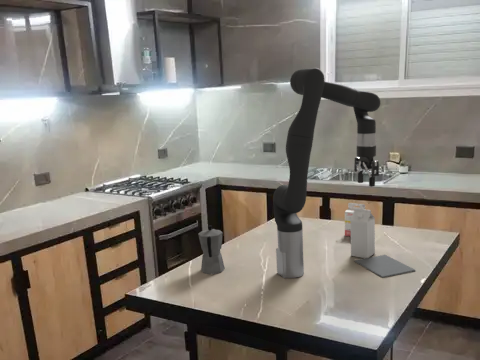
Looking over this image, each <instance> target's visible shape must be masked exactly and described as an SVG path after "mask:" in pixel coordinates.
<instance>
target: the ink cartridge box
mask: <svg viewBox="0 0 480 360" xmlns="http://www.w3.org/2000/svg"><path fill="white" fill-rule="evenodd" d="M347 206H348V209H346V210H345V211H344V236H345V237H351V217H352V215H353V213H354V208H356V209H365V210H366V204H364V203H355V202H348V203H347Z"/></svg>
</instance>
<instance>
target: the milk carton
mask: <svg viewBox="0 0 480 360" xmlns="http://www.w3.org/2000/svg"><path fill="white" fill-rule="evenodd" d="M375 221H376V218H375V216H374V214H372V210H371V209H366V208H365V209H356V208H354V213H353V215H352V217H351V236H350V256H351V257H352V256H353V257H357V258H360V259H364V258H370V257H373V255H375V253H376V245H375V243H376V241H375V240H376V238H375V236H376V233H375V232H376V230H375V229H376V227H375V226H376V223H375Z"/></svg>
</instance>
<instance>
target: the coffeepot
mask: <svg viewBox="0 0 480 360" xmlns="http://www.w3.org/2000/svg"><path fill="white" fill-rule="evenodd" d="M207 228H208V229H206V230H202V231H200V232H199V233H198V239H199V243H200V247H201V250H202V253H203V254H202V258H201V268H200V271H201V272H202V273H203V274H206V275H216V274H219V273H222V272H224V270H225V268H226V267H225V264H224V258H223V256H222V255H223V254H222V253H221V250H222V246H223V245H222V244H223V231H221V229H215V228H213V225H208V226H207Z"/></svg>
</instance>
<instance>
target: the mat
mask: <svg viewBox="0 0 480 360" xmlns="http://www.w3.org/2000/svg"><path fill="white" fill-rule="evenodd" d="M354 262H355V263H356V264H358V265H359V266H361V267H363V268H365V269H367V270H369V271H370V272H372V273H374V274H375V275H376V276H379V277H380V278H388V277H394V276H398V275H403V274H408V273H413V272H416V268H413V267H411V266H409V265H407V264H405V263H403V262H401V261H399V260H397V259H394V258H393V257H390V256H389V255H388V254H382V255H376V256H370V257H369V258H360V259H355V260H354Z"/></svg>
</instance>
